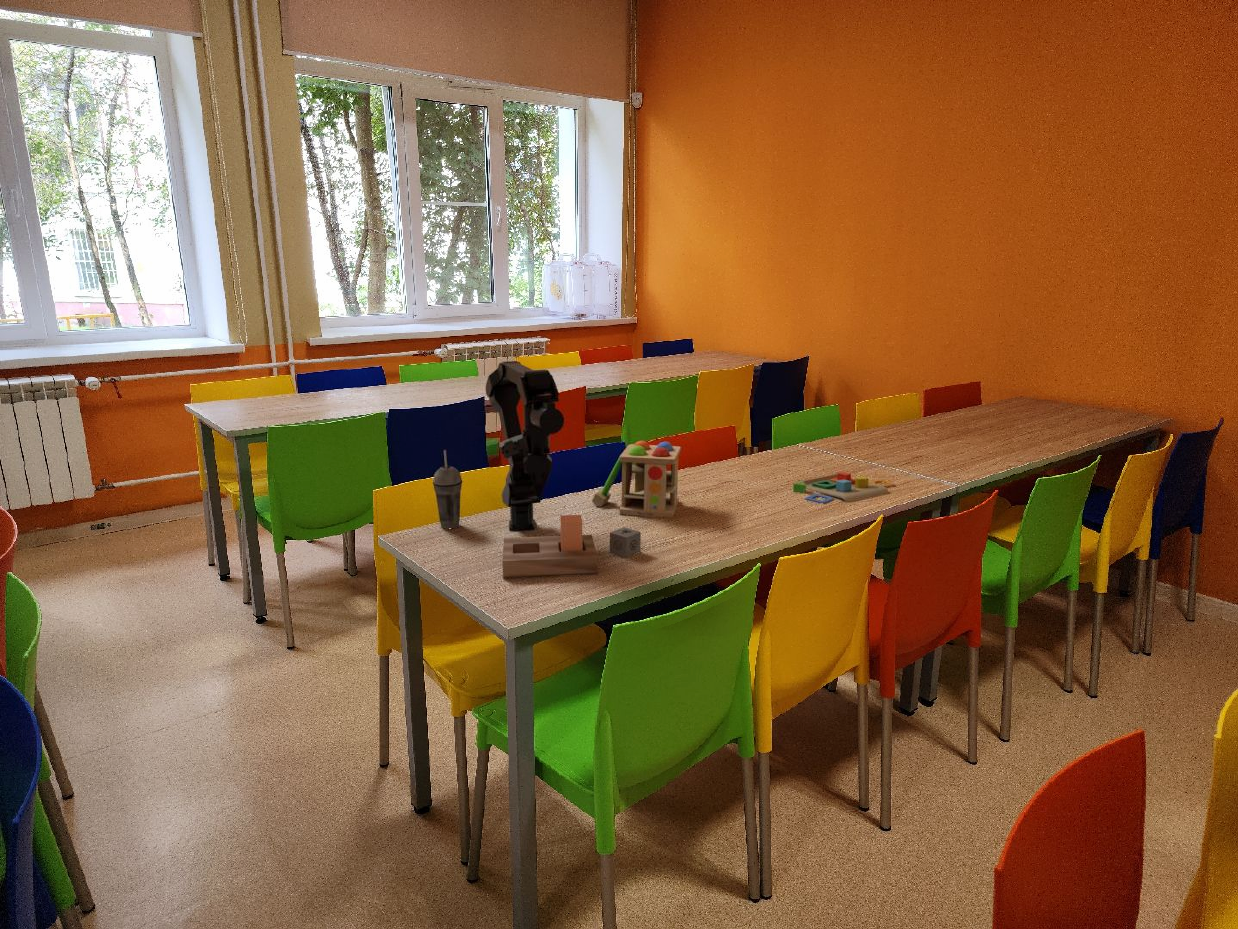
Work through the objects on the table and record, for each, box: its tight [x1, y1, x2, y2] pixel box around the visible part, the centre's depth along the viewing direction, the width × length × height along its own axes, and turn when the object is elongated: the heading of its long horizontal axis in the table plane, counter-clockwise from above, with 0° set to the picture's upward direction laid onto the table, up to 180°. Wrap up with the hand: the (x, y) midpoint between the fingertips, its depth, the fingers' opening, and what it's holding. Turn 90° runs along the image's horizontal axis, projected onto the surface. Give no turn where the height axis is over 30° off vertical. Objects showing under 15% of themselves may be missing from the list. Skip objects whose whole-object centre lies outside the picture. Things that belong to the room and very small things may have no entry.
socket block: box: [501, 534, 598, 580], centre depth 175 cm, size 14×20×4 cm
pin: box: [560, 514, 583, 552], centre depth 175 cm, size 4×4×10 cm
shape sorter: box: [792, 471, 897, 505], centre depth 231 cm, size 34×19×5 cm, turn 122°
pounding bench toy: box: [591, 440, 681, 518], centre depth 213 cm, size 23×14×18 cm, turn 79°
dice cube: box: [609, 526, 642, 559], centre depth 182 cm, size 5×5×5 cm
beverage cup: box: [432, 449, 463, 530], centre depth 197 cm, size 7×7×20 cm
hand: (537, 490), depth 186 cm, fingers open, 9 cm apart
